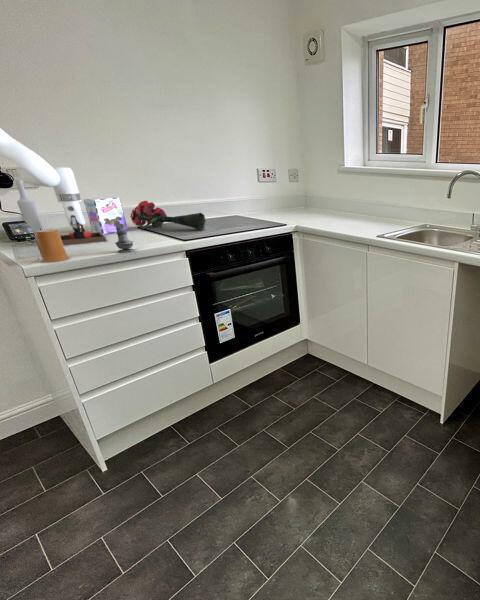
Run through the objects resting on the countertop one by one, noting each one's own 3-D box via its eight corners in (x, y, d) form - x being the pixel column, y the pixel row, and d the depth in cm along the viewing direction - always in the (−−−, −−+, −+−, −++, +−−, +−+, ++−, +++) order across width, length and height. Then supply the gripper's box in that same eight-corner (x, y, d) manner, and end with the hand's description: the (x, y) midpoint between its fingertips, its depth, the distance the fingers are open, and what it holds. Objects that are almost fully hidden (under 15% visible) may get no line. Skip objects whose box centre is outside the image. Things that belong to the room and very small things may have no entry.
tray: (60, 245, 145) (58, 241, 145) (56, 240, 154) (55, 236, 153) (106, 241, 156) (105, 236, 155) (100, 236, 164) (99, 232, 163)
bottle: (47, 238, 156) (27, 179, 147) (46, 240, 152) (26, 180, 143) (31, 239, 153) (10, 179, 144) (29, 242, 149) (8, 180, 140)
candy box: (103, 235, 167) (93, 199, 161) (92, 234, 168) (82, 198, 162) (128, 230, 180) (120, 197, 174) (118, 229, 180) (109, 196, 174)
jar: (43, 263, 122) (33, 232, 118) (42, 259, 126) (31, 230, 122) (68, 260, 127) (59, 230, 123) (66, 256, 131) (57, 228, 127)
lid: (91, 234, 159) (90, 230, 158) (90, 237, 153) (89, 233, 153) (70, 235, 155) (69, 231, 154) (68, 238, 149) (67, 234, 149)
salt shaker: (131, 248, 144) (123, 219, 140) (138, 250, 142) (131, 221, 137) (114, 251, 140) (106, 221, 135) (121, 253, 137) (113, 222, 133)
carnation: (205, 243, 190) (136, 239, 186) (213, 217, 199) (147, 212, 195) (194, 224, 177) (119, 219, 172) (203, 197, 185) (132, 192, 181)
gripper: (78, 199, 144) (91, 242, 150) (82, 195, 157) (93, 235, 163) (54, 200, 140) (68, 244, 146) (59, 196, 152) (72, 236, 159)
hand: (81, 239), depth 155 cm, fingers closed on lid, 7 cm apart
